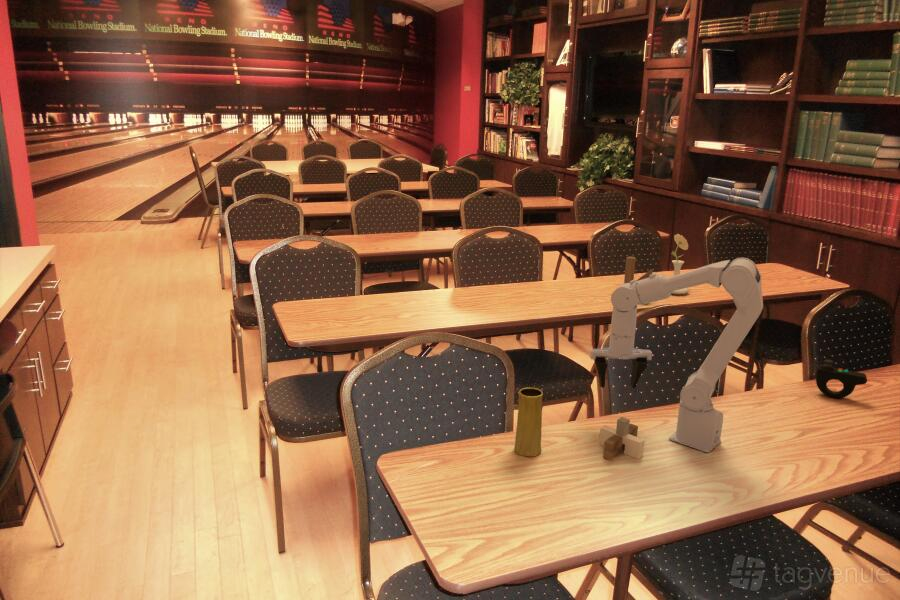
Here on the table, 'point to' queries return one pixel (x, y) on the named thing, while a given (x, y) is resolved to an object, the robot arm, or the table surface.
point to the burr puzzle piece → (632, 443)
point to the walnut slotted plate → (617, 444)
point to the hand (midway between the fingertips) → (617, 386)
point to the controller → (844, 376)
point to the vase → (529, 422)
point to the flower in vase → (677, 263)
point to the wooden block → (630, 271)
